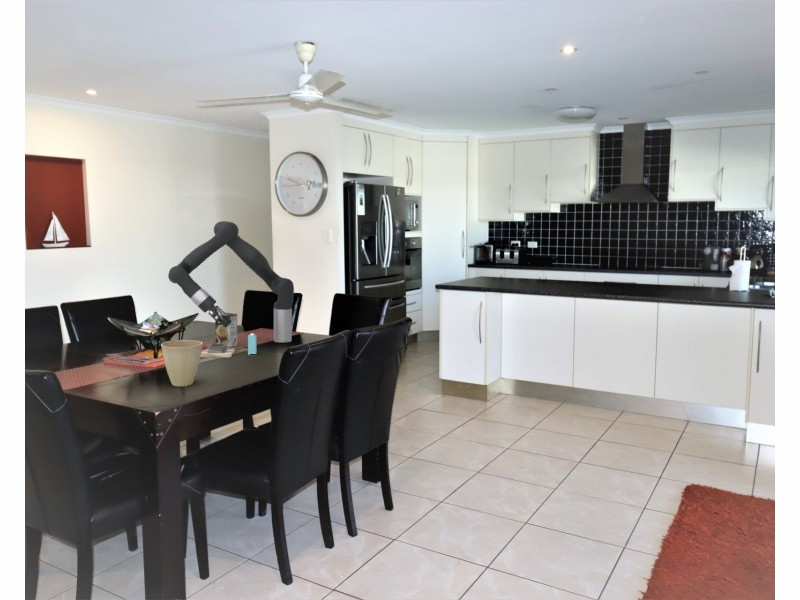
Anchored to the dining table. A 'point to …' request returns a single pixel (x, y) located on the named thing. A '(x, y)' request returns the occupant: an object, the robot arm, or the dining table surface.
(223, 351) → the board
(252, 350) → the teal block
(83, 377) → the dining table surface
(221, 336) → the coffee box
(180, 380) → the plant pot
